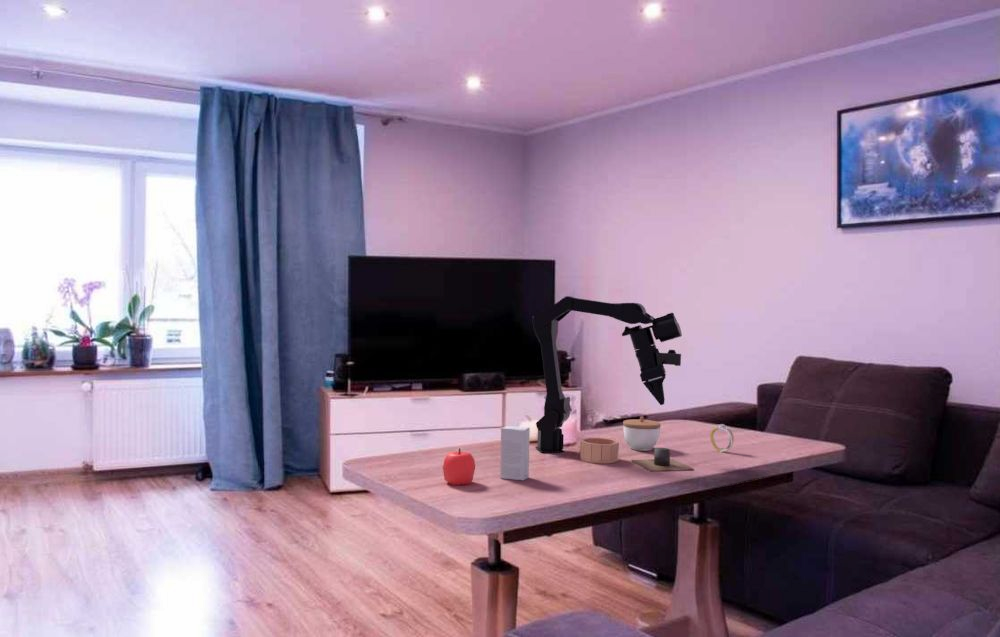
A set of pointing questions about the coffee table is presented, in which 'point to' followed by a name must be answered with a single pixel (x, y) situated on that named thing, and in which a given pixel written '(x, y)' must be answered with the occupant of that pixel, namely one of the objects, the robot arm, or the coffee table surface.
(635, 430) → the lidded jar
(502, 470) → the skincare box
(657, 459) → the walnut lid
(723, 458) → the coffee table surface
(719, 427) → the bracelet
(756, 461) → the coffee table surface
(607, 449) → the tan short open cylinder
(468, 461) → the apple
